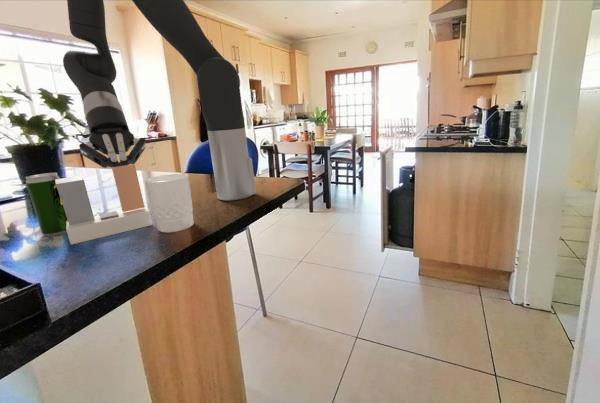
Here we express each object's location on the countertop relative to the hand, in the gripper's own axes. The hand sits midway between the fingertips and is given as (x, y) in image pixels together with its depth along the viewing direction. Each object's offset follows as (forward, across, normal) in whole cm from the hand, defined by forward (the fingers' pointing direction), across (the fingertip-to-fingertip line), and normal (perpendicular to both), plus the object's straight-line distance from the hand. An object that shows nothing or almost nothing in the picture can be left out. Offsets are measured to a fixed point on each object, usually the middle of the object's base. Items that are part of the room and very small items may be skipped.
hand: (124, 179), depth 64 cm
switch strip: (+8, -4, +5) cm, 11 cm away
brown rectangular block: (+6, 0, +3) cm, 6 cm away
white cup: (+14, +6, 0) cm, 15 cm away
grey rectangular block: (+6, -9, +3) cm, 11 cm away
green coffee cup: (+3, -13, +11) cm, 18 cm away
